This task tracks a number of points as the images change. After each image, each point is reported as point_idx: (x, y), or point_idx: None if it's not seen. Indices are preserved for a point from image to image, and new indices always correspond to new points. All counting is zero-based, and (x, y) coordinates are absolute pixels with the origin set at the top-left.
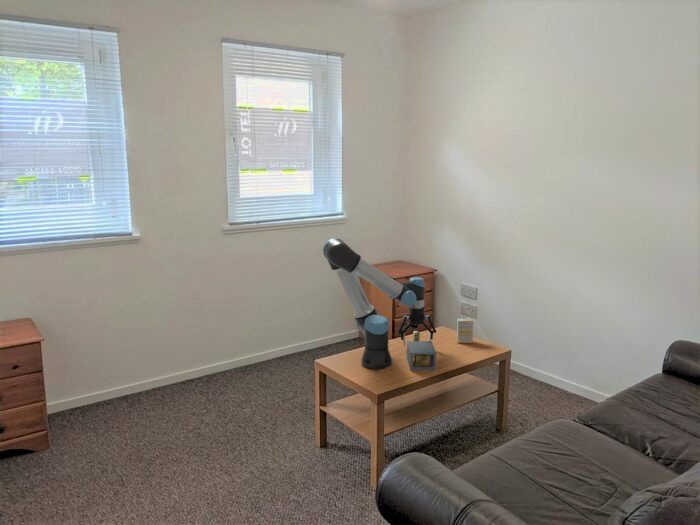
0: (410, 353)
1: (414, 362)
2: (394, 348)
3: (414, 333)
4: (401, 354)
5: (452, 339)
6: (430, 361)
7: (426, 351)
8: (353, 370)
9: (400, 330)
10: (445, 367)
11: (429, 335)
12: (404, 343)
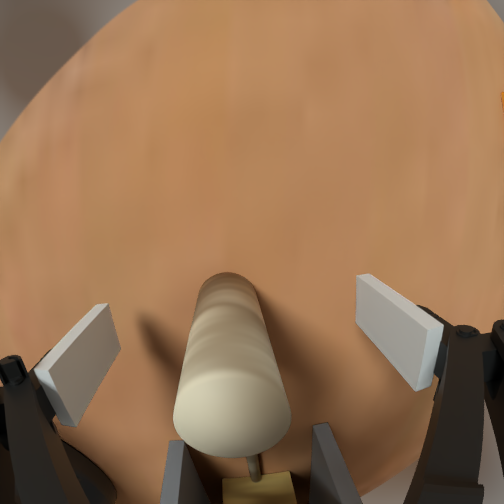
0: None
1: (222, 480)
2: (50, 276)
3: (199, 441)
4: (122, 391)
5: (481, 66)
6: (312, 471)
7: None
8: None
9: (9, 453)
10: (365, 482)
11: (408, 382)
12: (107, 363)
